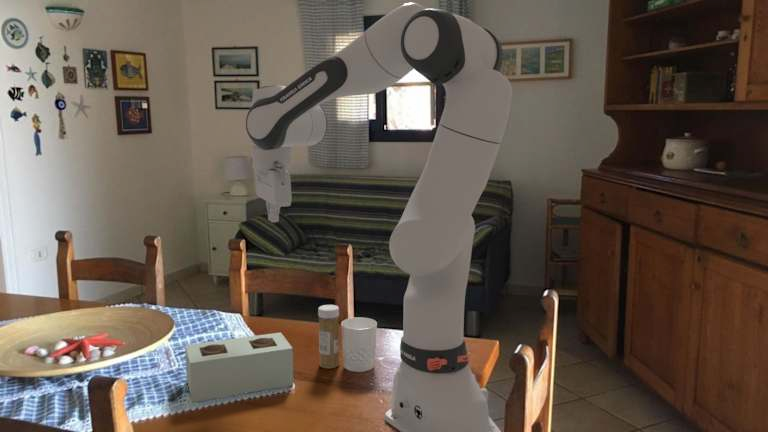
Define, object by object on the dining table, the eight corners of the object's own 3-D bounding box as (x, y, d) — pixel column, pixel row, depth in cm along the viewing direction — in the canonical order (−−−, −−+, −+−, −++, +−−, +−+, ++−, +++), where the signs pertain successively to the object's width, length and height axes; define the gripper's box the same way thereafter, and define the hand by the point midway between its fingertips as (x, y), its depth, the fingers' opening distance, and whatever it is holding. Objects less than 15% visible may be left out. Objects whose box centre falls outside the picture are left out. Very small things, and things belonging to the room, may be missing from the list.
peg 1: (226, 383, 122) (225, 350, 121) (205, 386, 121) (204, 353, 119) (223, 375, 126) (222, 343, 125) (202, 378, 124) (201, 345, 123)
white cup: (343, 374, 130) (343, 330, 128) (339, 360, 138) (338, 318, 136) (379, 372, 132) (380, 327, 130) (373, 358, 139) (373, 316, 138)
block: (293, 385, 125) (292, 348, 124) (192, 402, 117) (190, 363, 116) (281, 367, 134) (280, 332, 133) (186, 381, 126) (185, 345, 125)
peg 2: (275, 375, 126) (274, 343, 125) (255, 378, 125) (254, 346, 123) (271, 368, 130) (270, 336, 129) (251, 370, 128) (251, 339, 127)
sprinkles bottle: (343, 366, 134) (342, 308, 132) (324, 371, 132) (324, 311, 130) (333, 359, 138) (332, 302, 136) (315, 363, 136) (314, 306, 134)
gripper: (298, 163, 127) (299, 228, 129) (275, 157, 146) (276, 214, 148) (268, 163, 125) (269, 230, 127) (249, 157, 143) (250, 215, 145)
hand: (273, 221), depth 137 cm, fingers closed
